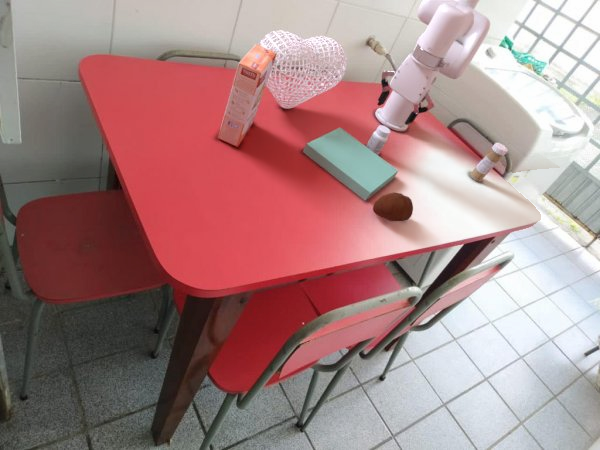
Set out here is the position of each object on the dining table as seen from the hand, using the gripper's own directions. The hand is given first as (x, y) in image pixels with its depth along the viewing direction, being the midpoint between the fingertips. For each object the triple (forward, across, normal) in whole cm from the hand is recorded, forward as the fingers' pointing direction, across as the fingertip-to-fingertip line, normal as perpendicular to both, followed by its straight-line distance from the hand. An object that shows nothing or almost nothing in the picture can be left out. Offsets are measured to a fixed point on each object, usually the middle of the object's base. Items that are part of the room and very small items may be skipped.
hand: (393, 113), depth 116 cm
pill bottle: (+14, 0, -1) cm, 14 cm away
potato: (+14, -18, +22) cm, 32 cm away
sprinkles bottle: (+14, -29, -29) cm, 43 cm away
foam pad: (+14, 0, +13) cm, 19 cm away
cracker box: (+15, +26, +33) cm, 45 cm away
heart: (+14, +28, +9) cm, 33 cm away
